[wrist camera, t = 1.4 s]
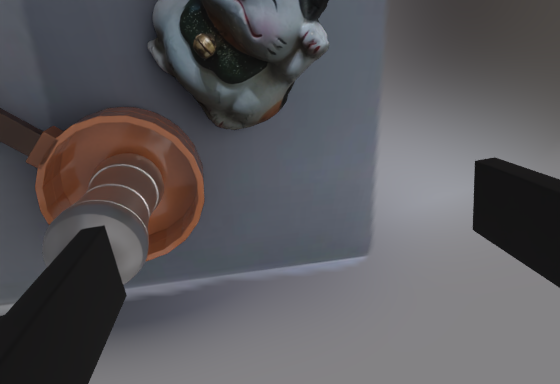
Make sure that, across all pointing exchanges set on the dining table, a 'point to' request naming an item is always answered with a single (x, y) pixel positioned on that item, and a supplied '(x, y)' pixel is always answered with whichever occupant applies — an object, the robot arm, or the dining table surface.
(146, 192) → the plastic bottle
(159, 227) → the pan
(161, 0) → the lucky cat figurine
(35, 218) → the dining table surface
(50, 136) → the pan handle
